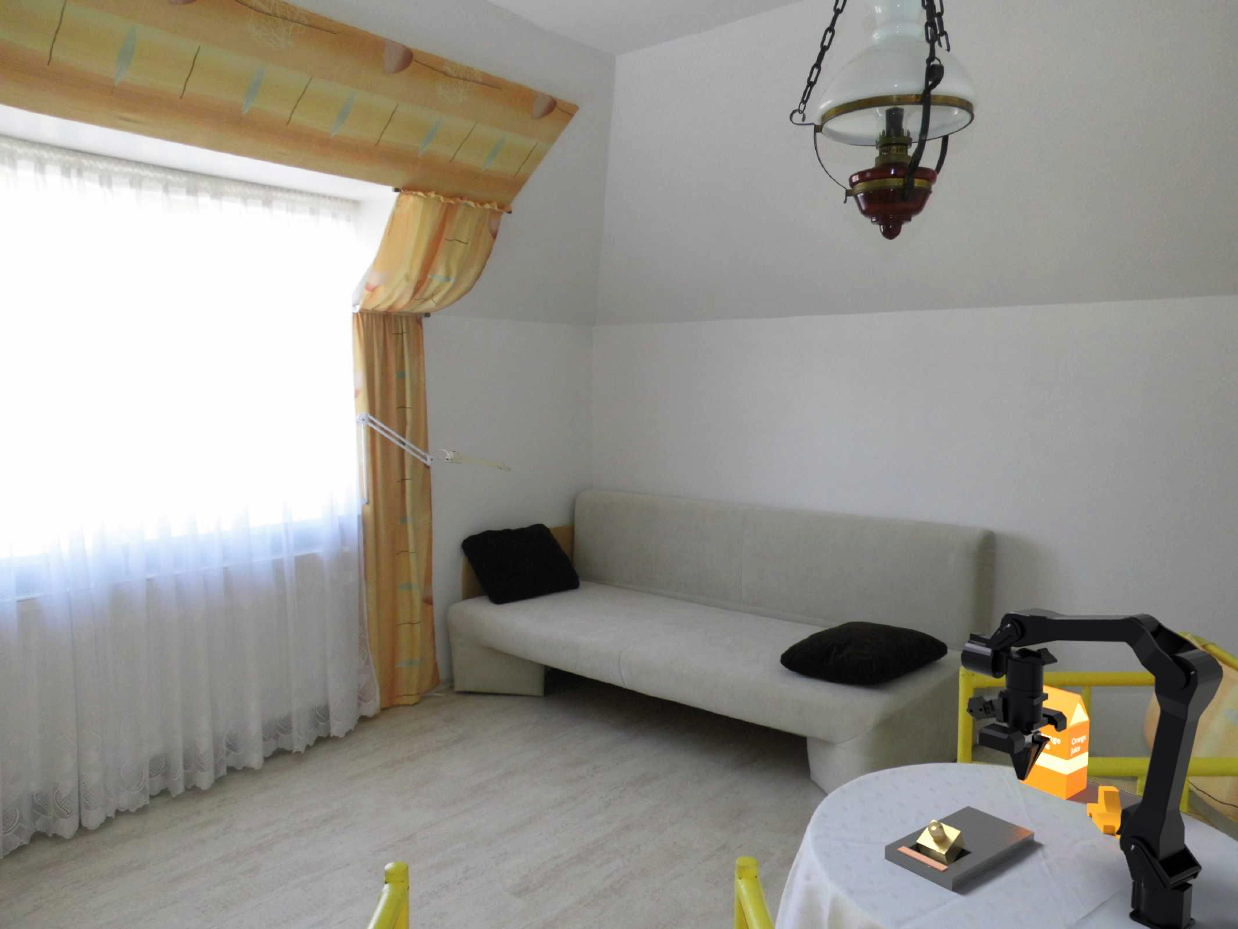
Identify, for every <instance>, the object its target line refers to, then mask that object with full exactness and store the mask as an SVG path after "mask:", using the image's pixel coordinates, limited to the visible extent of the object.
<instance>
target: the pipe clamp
mask: <svg viewBox="0 0 1238 929" xmlns="http://www.w3.org/2000/svg"><path fill="white" fill-rule="evenodd" d="M1097 794H1098V795H1097V796H1098V798H1097V803H1091V802H1088V803H1086V804H1087V805H1086V806H1087V807H1086V808H1087V809H1086V815H1087V816H1088V818H1091V819H1092V822H1093V823H1094V824H1095V826H1096V827H1097V828H1098V829H1099V831H1100V832H1101V833H1102V834H1105V835H1106V834H1107V835H1109V834H1110V835H1114V836H1115V837H1116V838H1117V840H1119V838H1120V835H1116V832H1117V830H1118V829H1119V827H1120V822H1121V812H1122V807H1121V800H1120V790H1119V789H1118V788H1117V787H1115V786H1111V785H1110V786H1109V785H1107V786H1106V785H1098V793H1097Z"/></svg>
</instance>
